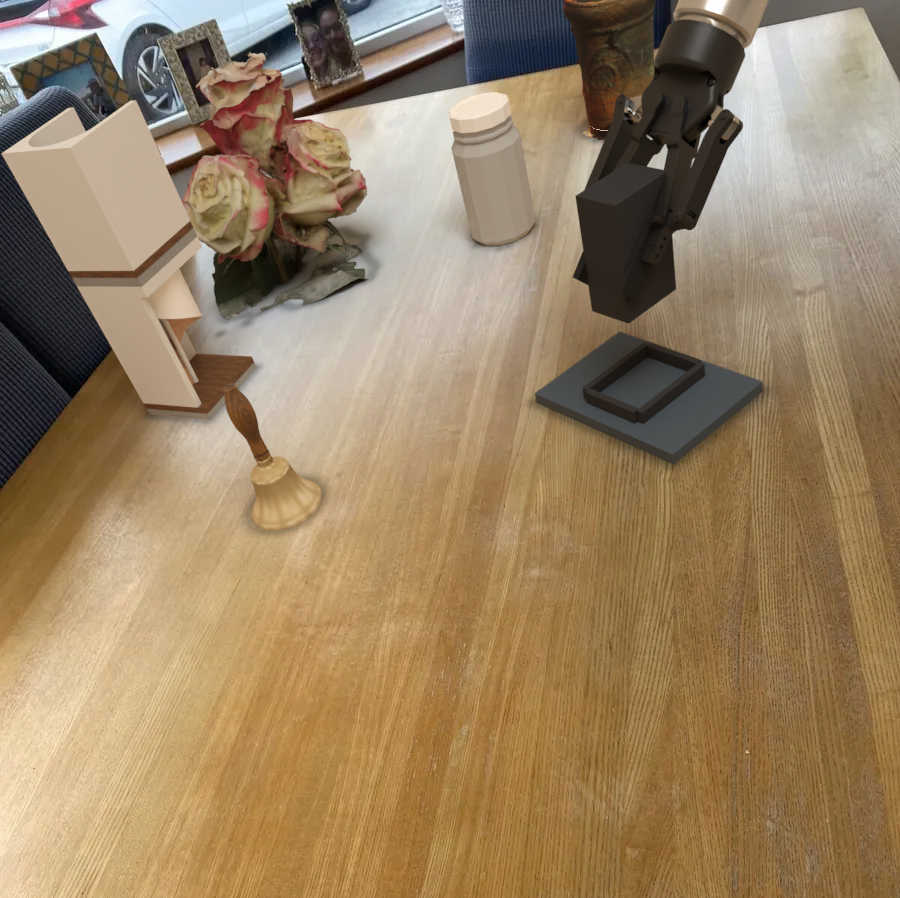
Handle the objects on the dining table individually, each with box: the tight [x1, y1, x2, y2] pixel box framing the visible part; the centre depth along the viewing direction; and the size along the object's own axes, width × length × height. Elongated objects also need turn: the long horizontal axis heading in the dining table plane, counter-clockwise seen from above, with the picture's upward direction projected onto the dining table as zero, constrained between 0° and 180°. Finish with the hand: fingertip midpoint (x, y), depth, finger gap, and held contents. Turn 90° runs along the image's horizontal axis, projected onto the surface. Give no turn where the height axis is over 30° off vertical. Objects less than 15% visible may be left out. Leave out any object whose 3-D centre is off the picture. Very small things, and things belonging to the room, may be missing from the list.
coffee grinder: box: [1, 99, 258, 421], centre depth 115 cm, size 11×11×35 cm
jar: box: [447, 91, 537, 247], centre depth 132 cm, size 10×10×18 cm
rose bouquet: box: [181, 51, 368, 320], centre depth 135 cm, size 26×29×30 cm
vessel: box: [562, 0, 657, 140], centre depth 148 cm, size 14×14×20 cm
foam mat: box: [534, 331, 764, 465], centre depth 102 cm, size 20×14×3 cm
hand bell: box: [223, 383, 323, 531], centre depth 99 cm, size 8×8×16 cm
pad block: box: [575, 163, 677, 324], centre depth 90 cm, size 5×7×12 cm
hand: (604, 288), depth 91 cm, fingers closed on pad block, 5 cm apart
